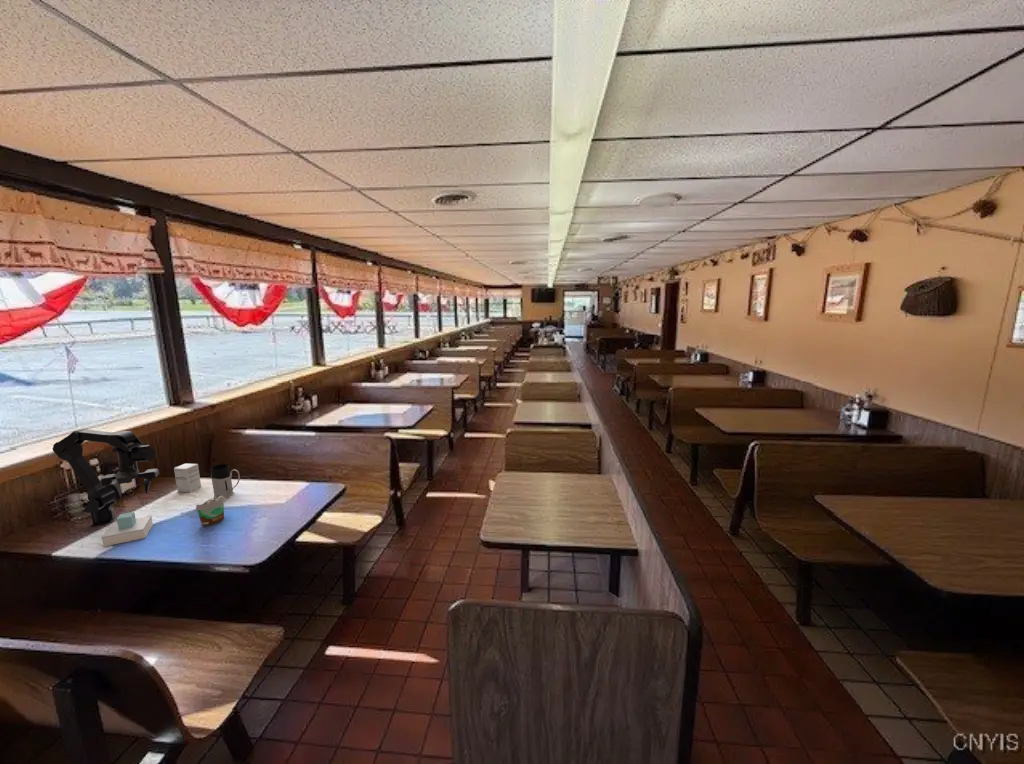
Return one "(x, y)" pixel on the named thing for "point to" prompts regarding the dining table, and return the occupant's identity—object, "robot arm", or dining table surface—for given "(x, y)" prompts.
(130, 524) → the teal block
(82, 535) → the dining table surface
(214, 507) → the food container
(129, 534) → the flat beige block
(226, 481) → the grey black mug
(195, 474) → the supplement box
